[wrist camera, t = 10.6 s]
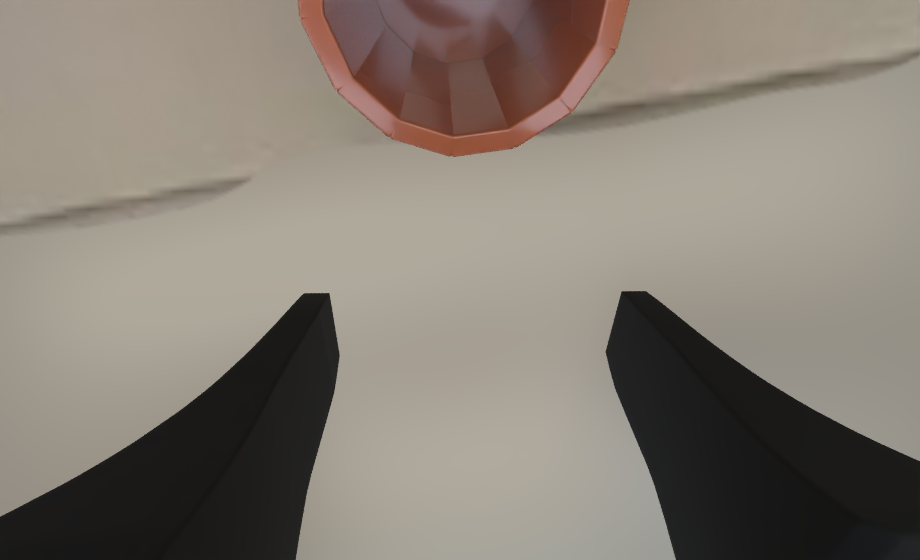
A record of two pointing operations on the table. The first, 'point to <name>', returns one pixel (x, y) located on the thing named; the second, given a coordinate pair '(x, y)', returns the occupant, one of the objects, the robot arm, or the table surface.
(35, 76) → the table surface
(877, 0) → the table surface
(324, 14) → the cup
